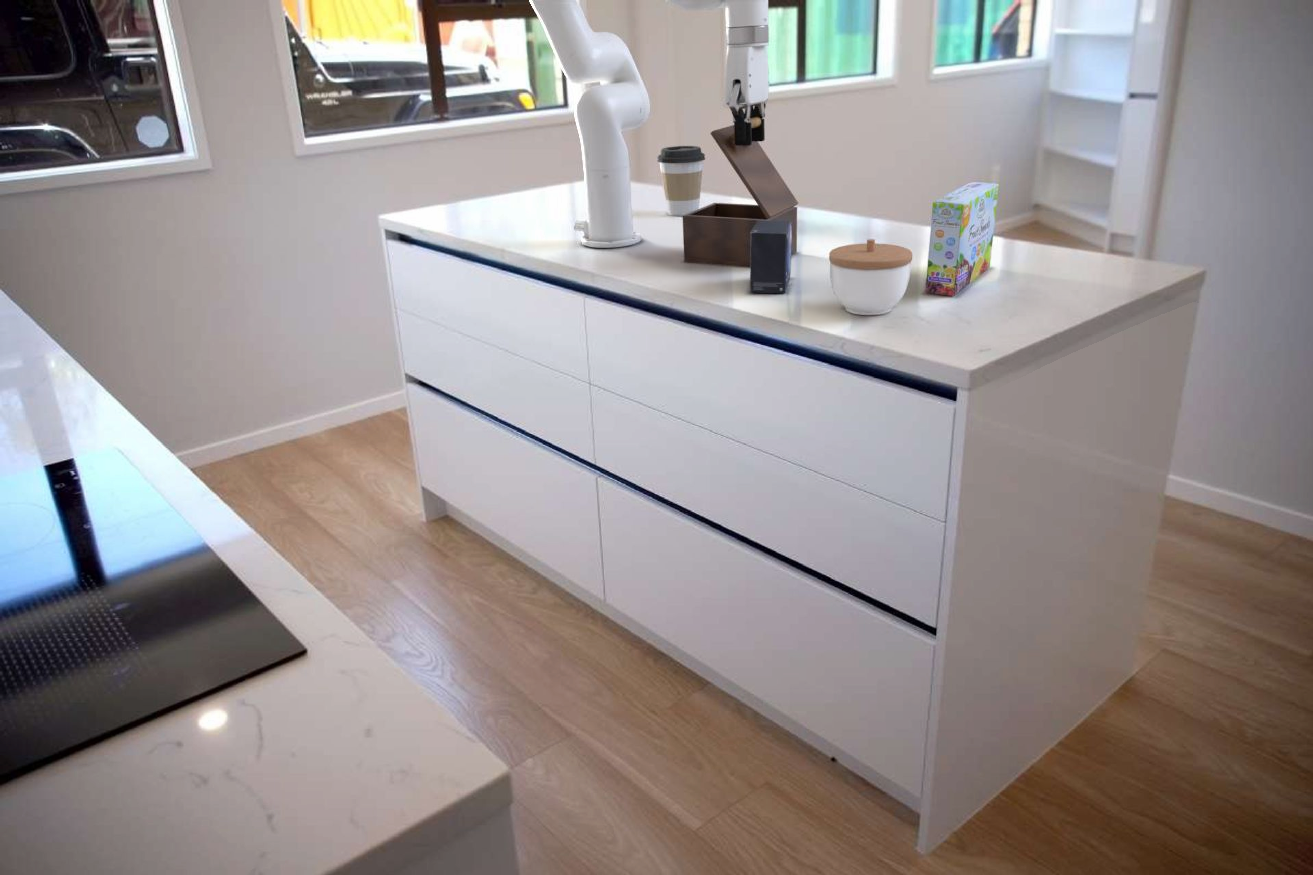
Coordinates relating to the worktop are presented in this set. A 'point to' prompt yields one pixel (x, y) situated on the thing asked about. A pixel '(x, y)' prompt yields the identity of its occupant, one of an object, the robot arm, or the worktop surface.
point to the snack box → (961, 237)
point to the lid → (756, 171)
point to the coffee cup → (681, 178)
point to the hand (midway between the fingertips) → (749, 142)
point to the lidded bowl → (869, 276)
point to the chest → (727, 233)
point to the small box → (770, 256)
